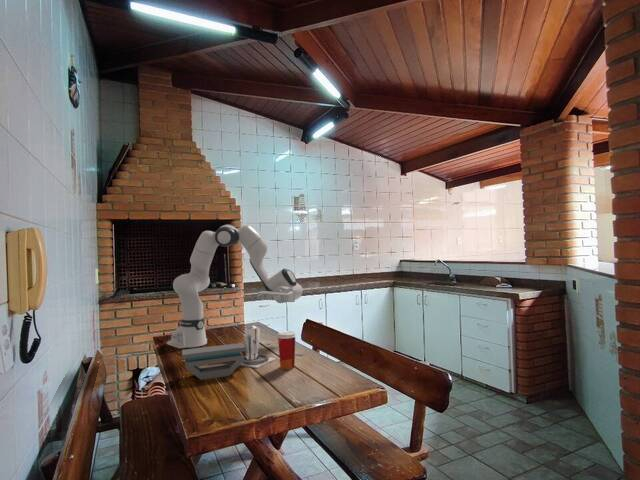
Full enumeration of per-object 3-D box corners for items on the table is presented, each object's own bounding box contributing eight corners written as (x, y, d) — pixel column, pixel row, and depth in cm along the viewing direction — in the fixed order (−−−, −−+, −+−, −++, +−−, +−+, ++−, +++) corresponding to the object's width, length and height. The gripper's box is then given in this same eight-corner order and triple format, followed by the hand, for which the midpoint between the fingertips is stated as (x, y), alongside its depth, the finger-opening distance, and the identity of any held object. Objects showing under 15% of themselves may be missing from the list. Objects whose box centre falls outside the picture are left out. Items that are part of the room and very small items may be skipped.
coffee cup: (288, 363, 171) (287, 329, 172) (300, 367, 166) (299, 332, 166) (273, 367, 166) (272, 333, 166) (285, 372, 160) (285, 336, 160)
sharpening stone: (182, 382, 150) (182, 354, 150) (182, 376, 158) (181, 349, 158) (246, 373, 160) (245, 347, 160) (242, 367, 167) (242, 342, 167)
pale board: (233, 364, 172) (233, 362, 172) (253, 355, 184) (253, 354, 184) (257, 368, 165) (257, 367, 165) (276, 359, 177) (276, 358, 177)
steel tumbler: (256, 362, 172) (256, 329, 172) (241, 361, 173) (242, 328, 173) (261, 357, 178) (262, 325, 179) (247, 356, 180) (248, 325, 180)
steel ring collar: (235, 362, 172) (235, 359, 172) (253, 355, 183) (253, 352, 183) (256, 366, 166) (256, 363, 166) (273, 358, 177) (273, 356, 177)
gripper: (266, 287, 209) (249, 290, 197) (297, 289, 198) (281, 292, 186) (266, 299, 209) (249, 302, 197) (297, 301, 198) (281, 305, 186)
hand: (265, 298), depth 191 cm, fingers open, 8 cm apart
